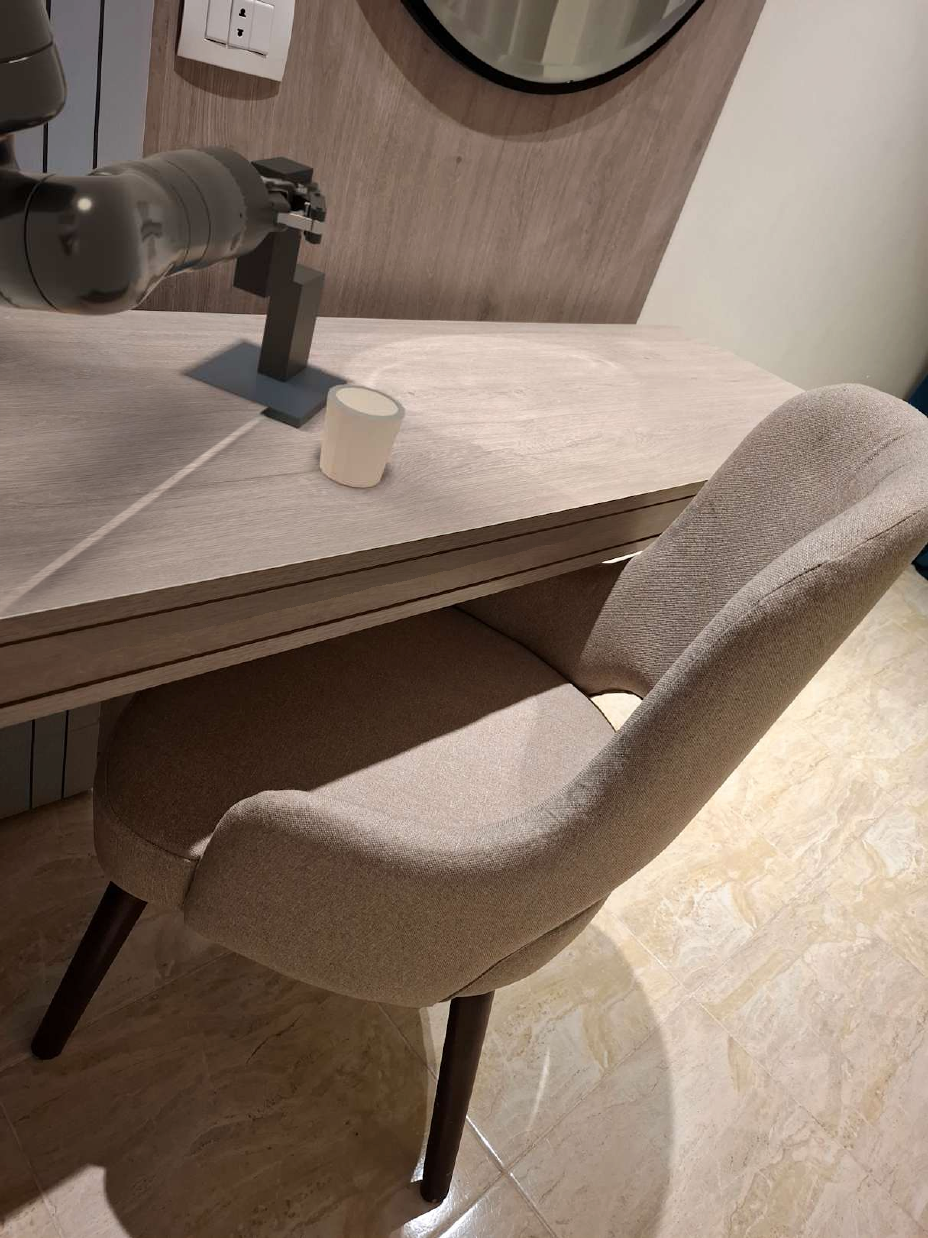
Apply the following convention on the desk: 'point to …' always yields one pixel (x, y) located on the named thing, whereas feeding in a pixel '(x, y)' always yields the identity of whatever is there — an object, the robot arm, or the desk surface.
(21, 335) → the desk surface
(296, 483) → the desk surface
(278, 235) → the block
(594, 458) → the desk surface
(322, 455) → the shot glass
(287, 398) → the dock
